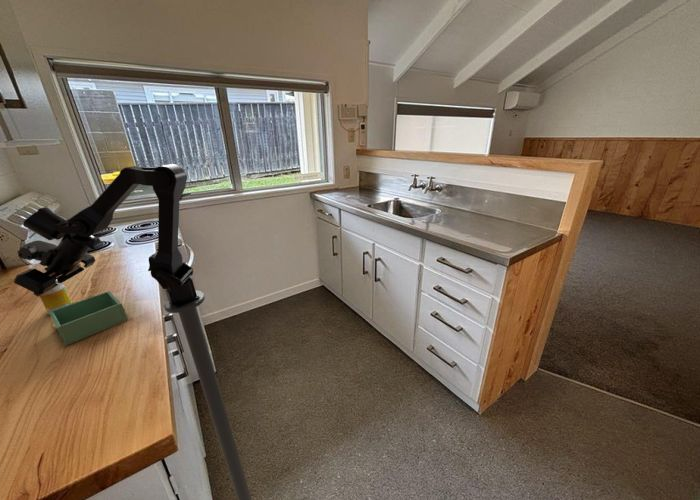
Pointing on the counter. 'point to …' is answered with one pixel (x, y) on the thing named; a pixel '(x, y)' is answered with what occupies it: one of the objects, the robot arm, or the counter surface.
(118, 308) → the open box
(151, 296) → the counter surface
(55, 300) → the supplement bottle
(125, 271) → the counter surface
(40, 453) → the counter surface
